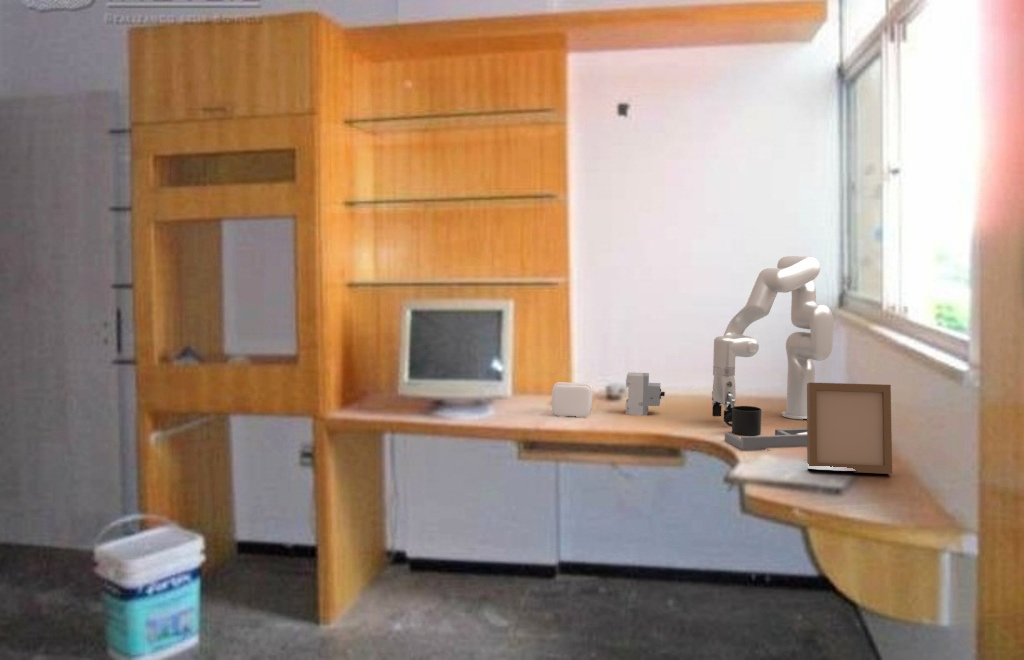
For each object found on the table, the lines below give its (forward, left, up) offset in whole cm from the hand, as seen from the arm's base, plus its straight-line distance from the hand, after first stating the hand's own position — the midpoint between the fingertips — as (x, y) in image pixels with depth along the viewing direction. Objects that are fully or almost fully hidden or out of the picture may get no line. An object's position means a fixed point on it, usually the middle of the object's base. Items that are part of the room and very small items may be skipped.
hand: (722, 418), depth 303 cm
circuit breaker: (+21, -23, -2) cm, 31 cm away
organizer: (-6, +30, -2) cm, 31 cm away
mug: (0, +16, -2) cm, 16 cm away
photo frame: (-10, +62, -2) cm, 63 cm away
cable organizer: (+49, -26, -2) cm, 55 cm away
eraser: (-16, +29, -1) cm, 33 cm away
